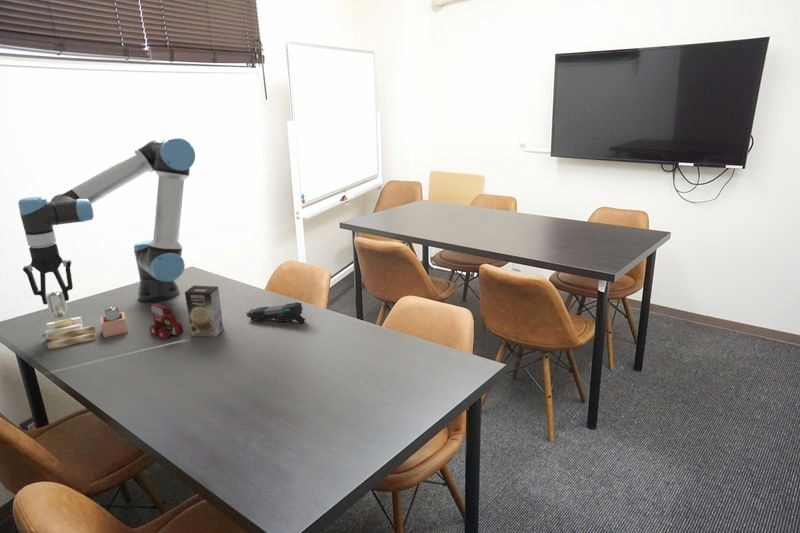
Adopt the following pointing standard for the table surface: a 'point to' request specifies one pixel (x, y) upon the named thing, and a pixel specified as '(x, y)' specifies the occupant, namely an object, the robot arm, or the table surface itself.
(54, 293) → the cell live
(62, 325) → the tan flat square block
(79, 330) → the trough
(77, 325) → the cradle
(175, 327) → the toy fire truck
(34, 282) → the robot arm
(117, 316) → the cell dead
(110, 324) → the square hollow tube
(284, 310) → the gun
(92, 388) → the table surface
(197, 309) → the coffee box
